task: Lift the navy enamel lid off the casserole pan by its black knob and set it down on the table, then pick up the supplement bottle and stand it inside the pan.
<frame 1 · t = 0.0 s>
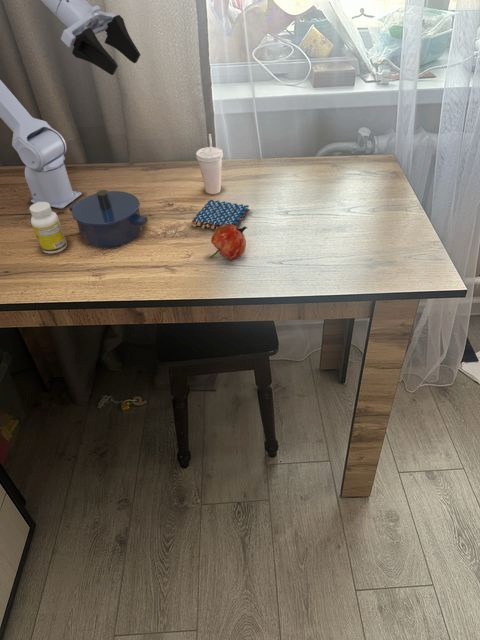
hand: (126, 64, 94), 32 cm above the table, tool tilted 50°, fingers open, 7 cm apart
pomegranate: (228, 257, 106), on the table
pan: (112, 231, 114), on the table
smoothie: (213, 191, 126), on the table
woven mat: (221, 220, 116), on the table
pan lid: (106, 208, 110), point 5 cm above the table, touching pan
supplement bottle: (55, 248, 110), on the table
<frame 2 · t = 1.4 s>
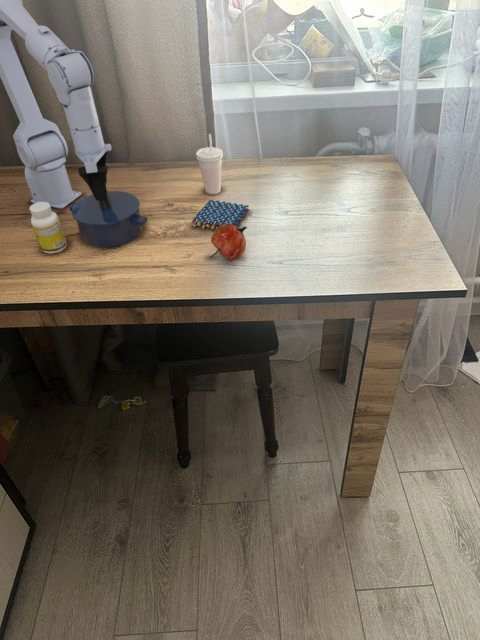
hand: (101, 191, 107), 10 cm above the table, tool pointing down, fingers open, 7 cm apart
nothing on the table moved.
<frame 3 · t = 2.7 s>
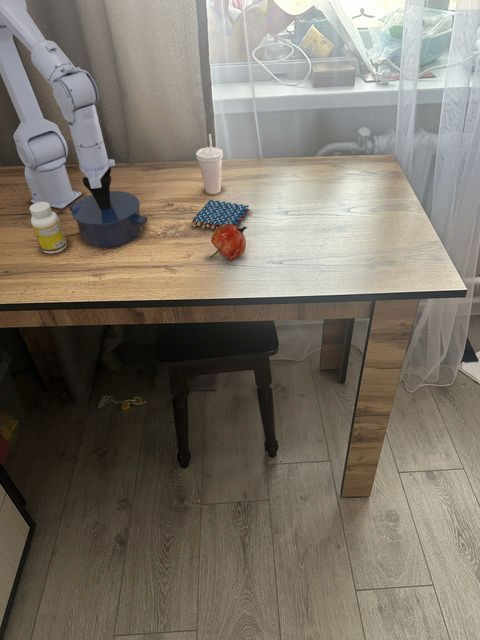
hand: (105, 204, 109), 7 cm above the table, tool pointing down, fingers closed on pan lid, 2 cm apart
pan lid: (106, 208, 110), point 6 cm above the table, touching gripper, pan
everything else where it was.
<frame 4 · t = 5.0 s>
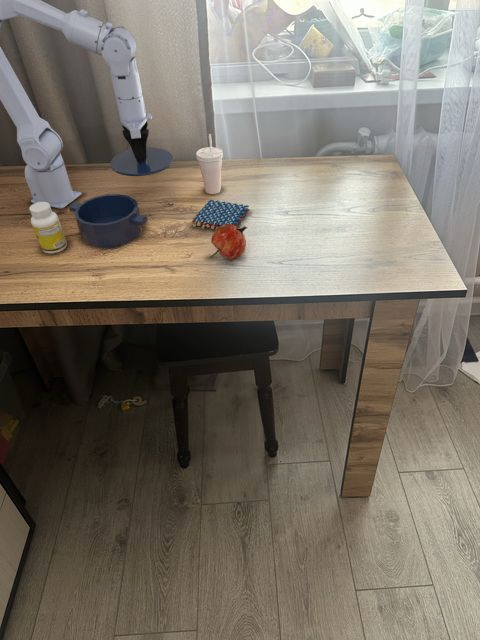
hand: (141, 158, 117), 10 cm above the table, tool pointing down, fingers closed on pan lid, 2 cm apart
pan lid: (142, 162, 118), point 9 cm above the table, touching gripper
everything else where it was.
when the fingers open (2 cm above the table, at t = 7.3 s): pan lid stays where it is, point 1 cm above the table.
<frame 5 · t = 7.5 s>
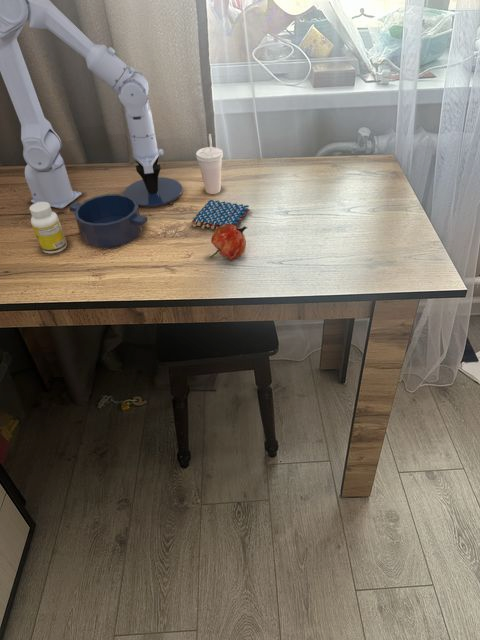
hand: (152, 189, 124), 2 cm above the table, tool pointing down, fingers open, 3 cm apart
pan lid: (153, 192, 125), point 1 cm above the table
everything else where it was.
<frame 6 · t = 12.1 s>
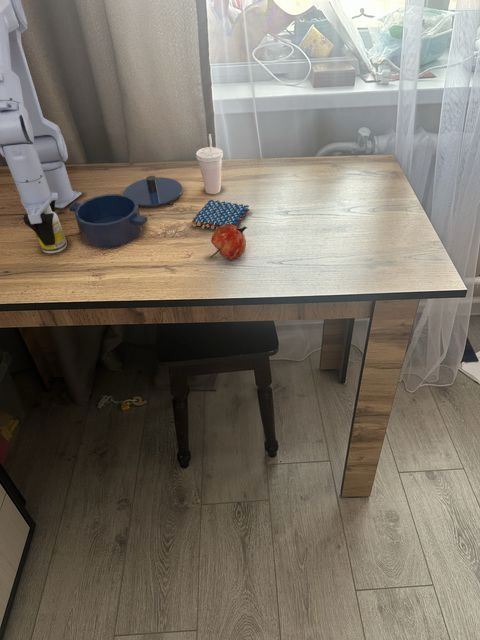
hand: (51, 236, 108), 3 cm above the table, tool pointing down, fingers closed on supplement bottle, 5 cm apart
supplement bottle: (55, 248, 110), on the table, touching gripper
everything else where it was.
when the fingers open (3 cm above the table, at t = 16.8 s): supplement bottle stays where it is, resting on pan.
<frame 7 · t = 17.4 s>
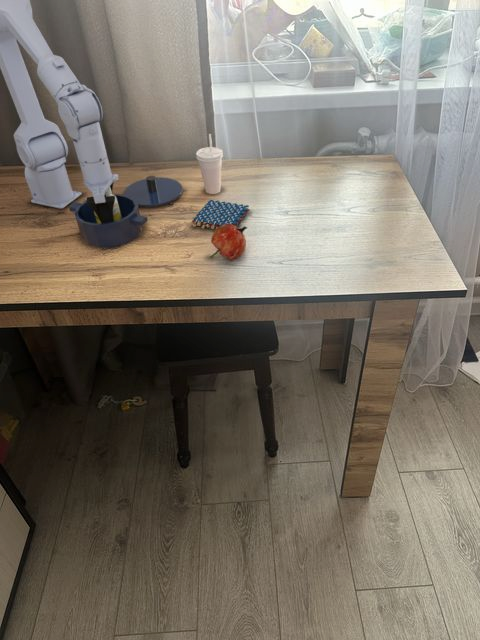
hand: (108, 217, 111), 3 cm above the table, tool pointing down, fingers open, 7 cm apart
supplement bottle: (111, 229, 113), resting on pan
everything else where it was.
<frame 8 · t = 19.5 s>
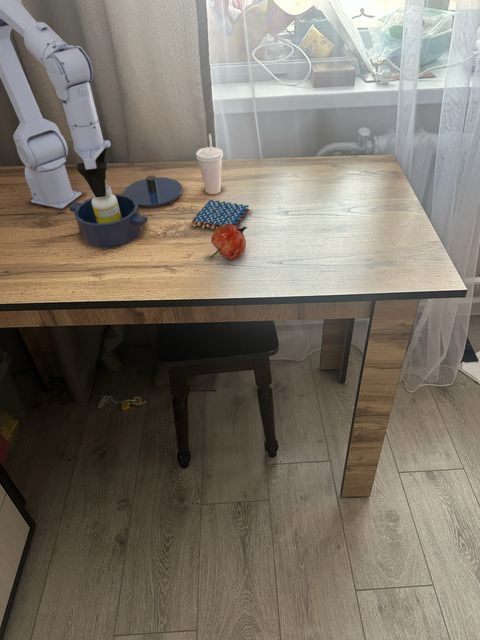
hand: (100, 187, 106), 10 cm above the table, tool pointing down, fingers open, 7 cm apart
nothing on the table moved.
at the end: pan lid inside the target area (0.1 cm from its centre), point 0.6 cm above the table; supplement bottle inside the target area in the pan (0.0 cm from its centre), point 0.3 cm above the pan's base; supplement bottle tilted 0° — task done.
